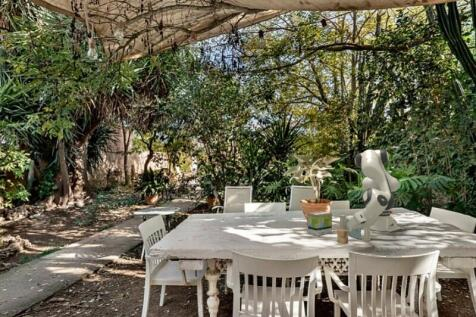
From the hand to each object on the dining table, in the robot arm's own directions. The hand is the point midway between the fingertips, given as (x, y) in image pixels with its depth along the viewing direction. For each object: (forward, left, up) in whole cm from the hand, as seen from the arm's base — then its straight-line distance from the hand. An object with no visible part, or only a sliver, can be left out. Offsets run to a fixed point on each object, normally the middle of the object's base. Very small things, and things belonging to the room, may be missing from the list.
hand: (355, 229), depth 226 cm
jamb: (-17, -7, -10) cm, 21 cm away
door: (-15, -18, -10) cm, 26 cm away
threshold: (-17, -17, -10) cm, 26 cm away
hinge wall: (-17, -29, -10) cm, 35 cm away
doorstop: (+2, -10, -10) cm, 14 cm away
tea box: (-4, -39, -10) cm, 40 cm away
